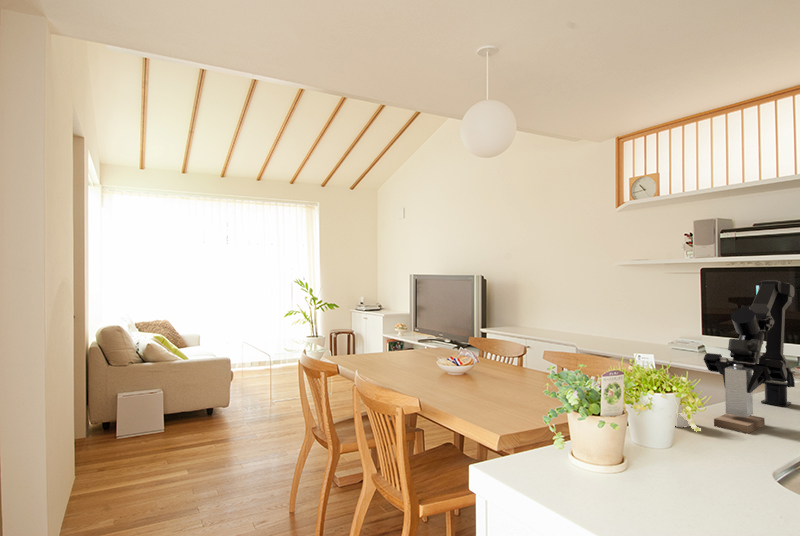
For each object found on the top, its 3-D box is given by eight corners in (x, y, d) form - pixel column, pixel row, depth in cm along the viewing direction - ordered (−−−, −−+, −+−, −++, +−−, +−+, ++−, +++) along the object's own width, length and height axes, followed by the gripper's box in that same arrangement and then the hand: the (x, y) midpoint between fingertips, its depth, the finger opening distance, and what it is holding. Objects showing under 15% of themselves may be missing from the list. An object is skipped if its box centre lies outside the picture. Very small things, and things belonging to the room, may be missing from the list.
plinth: (731, 418, 140) (731, 411, 140) (764, 425, 134) (764, 417, 134) (714, 426, 133) (713, 418, 133) (748, 433, 127) (747, 425, 127)
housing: (731, 410, 137) (730, 362, 138) (753, 413, 133) (751, 364, 134) (725, 413, 134) (724, 364, 134) (747, 417, 130) (746, 367, 131)
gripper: (705, 325, 144) (691, 367, 137) (783, 330, 129) (772, 378, 122) (715, 349, 149) (702, 391, 142) (791, 356, 134) (781, 403, 127)
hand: (737, 390), depth 133 cm, fingers closed on housing, 5 cm apart
